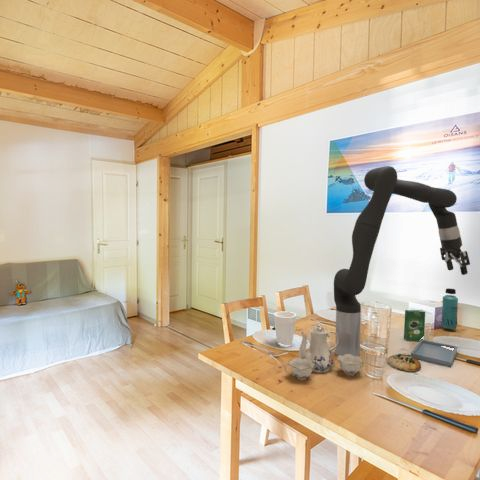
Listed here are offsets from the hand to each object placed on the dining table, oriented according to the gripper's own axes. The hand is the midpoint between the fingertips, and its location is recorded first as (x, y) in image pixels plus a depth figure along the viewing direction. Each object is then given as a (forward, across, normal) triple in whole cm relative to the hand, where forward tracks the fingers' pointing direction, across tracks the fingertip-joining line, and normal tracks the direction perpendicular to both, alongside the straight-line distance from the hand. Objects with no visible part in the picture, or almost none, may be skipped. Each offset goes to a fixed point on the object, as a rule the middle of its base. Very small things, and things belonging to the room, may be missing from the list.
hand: (457, 272), depth 143 cm
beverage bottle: (+32, -11, -3) cm, 34 cm away
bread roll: (+17, +25, -43) cm, 53 cm away
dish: (+22, +17, -26) cm, 38 cm away
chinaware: (+8, +28, -72) cm, 78 cm away
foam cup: (+7, +3, -81) cm, 81 cm away
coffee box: (+24, 0, -26) cm, 35 cm away
